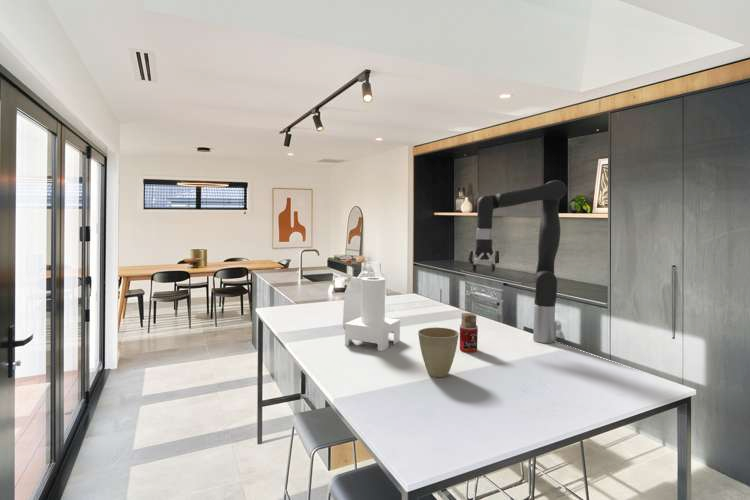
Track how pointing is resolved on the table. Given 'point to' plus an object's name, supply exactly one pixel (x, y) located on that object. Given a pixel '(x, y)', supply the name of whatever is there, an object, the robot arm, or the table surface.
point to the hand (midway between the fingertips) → (483, 272)
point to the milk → (352, 301)
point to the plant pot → (438, 349)
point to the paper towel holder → (372, 316)
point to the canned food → (468, 339)
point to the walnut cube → (468, 320)
